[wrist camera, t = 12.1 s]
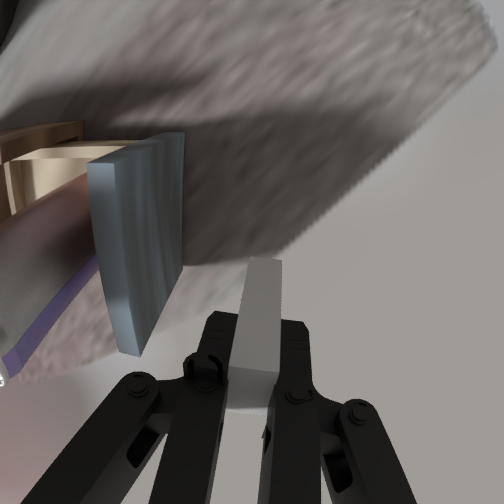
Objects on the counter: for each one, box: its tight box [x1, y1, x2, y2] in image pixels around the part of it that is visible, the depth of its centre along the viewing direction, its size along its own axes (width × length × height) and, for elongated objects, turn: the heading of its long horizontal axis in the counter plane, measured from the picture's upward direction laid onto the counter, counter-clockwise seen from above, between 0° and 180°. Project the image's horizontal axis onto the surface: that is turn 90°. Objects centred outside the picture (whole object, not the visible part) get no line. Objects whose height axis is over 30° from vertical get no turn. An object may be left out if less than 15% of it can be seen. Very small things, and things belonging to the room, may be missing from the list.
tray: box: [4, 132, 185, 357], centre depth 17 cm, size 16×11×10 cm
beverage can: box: [0, 172, 99, 387], centre depth 14 cm, size 6×6×15 cm
